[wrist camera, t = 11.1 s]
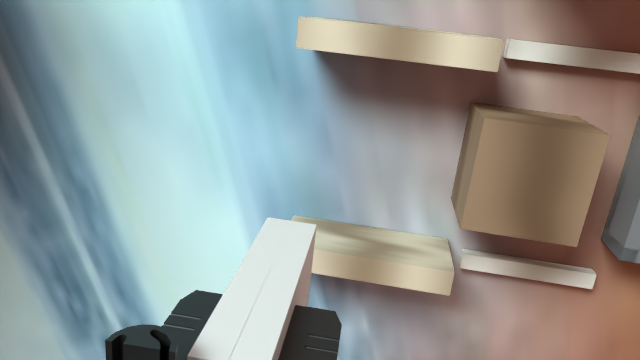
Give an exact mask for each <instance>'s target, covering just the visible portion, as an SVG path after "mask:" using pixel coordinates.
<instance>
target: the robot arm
mask: <svg viewBox="0 0 640 360" xmlns="http://www.w3.org/2000/svg"><path fill="white" fill-rule="evenodd" d="M316 227H317V225H316V224H309V223H302V222H295V221H289V220H282V219H275V218H269V217H268V218H267V220H266V221H265V223H264V225H263V226H262V228H261V230H260V232H259V233H258V235H257V237H256V238H255V240H254V242H253V244H252V245H251V247H250V249H249V251H248V252H247V254H246V256H245V257H244V259H243V261H242V263H241V264H240V266H239V268H238V269H237V271H236V273H235V275H234V276H233V278H232V280H231V282H230V283H229V285H228V287H227V288H226V290H225V292H224V294H217V293H211V292H205V291H198V290H196V291H194V292H192V293H191V294H189V295H188V296H186V297H184V298H183V299H181V300H180V301H179V303H178V304H177V305H176V307H175V308H174V310H173V311H172V312H171V315H169V317H168V318H167V319H166V321H165V322H164V325H163V326H161V327H160V326H157V325H137V326H131V327H127V328H124V329H122V330H120V331H117V332H115V333H114V334H113V335H111V336H110V337H109V338H108V339H106V340H105V344H106V360H337V354H338V347H339V340H340V333H341V326H342V325H341V323H340V321H339V318H338V316H337V314H336V312H335V311H330V310H324V309H318V308H312V307H307V305H308V298H309V289H310V280H311V272H312V263H313V254H314V245H315V236H316Z"/></svg>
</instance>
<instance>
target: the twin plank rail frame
mask: <svg viewBox="0 0 640 360" xmlns="http://www.w3.org/2000/svg"><path fill="white" fill-rule="evenodd" d="M503 44H504V40H501V39H497V38H493V37H488V36H480V35H471V34H462V33H453V32H444V31H436V30H427V29H418V28H409V27H400V26H392V25H383V24H374V23H365V22H357V21H348V20H339V19H330V18H321V17H299V20H298V31H297V43H296V48H302V49H310V50H318V51H326V52H335V53H343V54H351V55H360V56H368V57H376V58H384V59H393V60H401V61H409V62H418V63H426V64H434V65H442V66H451V67H459V68H467V69H476V70H484V71H492V72H498V68H499V63H500V58H501V54H502V49H503ZM503 57H504V58H510V59H518V60H527V61H535V62H544V63H552V64H561V65H569V66H578V67H586V68H595V69H603V70H612V71H620V72H629V73H637V74H640V54H638V53H629V52H620V51H611V50H602V49H594V48H585V47H576V46H567V45H559V44H550V43H541V42H532V41H523V40H515V39H507V41H506V45H505V50H504V55H503ZM291 221H295V222H302V223H309V224H316V225H317V227H316V236H315V245H314V254H313V263H312V272H311V273H315V274H321V275H327V276H333V277H339V278H345V279H351V280H357V281H363V282H369V283H375V284H381V285H388V286H394V287H400V288H406V289H412V290H418V291H424V292H430V293H436V294H442V295H448V296H450V293H451V288H452V283H453V279H454V274H455V271H454V266H453V262H452V257H451V253H450V248H449V244H448V239H445V238H438V237H432V236H426V235H419V234H413V233H406V232H400V231H393V230H387V229H380V228H374V227H367V226H361V225H355V224H348V223H342V222H335V221H329V220H322V219H316V218H309V217H303V216H296V215H294V216H293V217H292V219H291ZM459 265H460V268H462V269H469V270H475V271H481V272H487V273H494V274H500V275H506V276H512V277H519V278H525V279H531V280H537V281H543V282H550V283H556V284H562V285H568V286H575V287H581V288H587V289H592V288H593V285H594V282H595V279H596V276H597V275H596V273H595V272H594V271H593V269H590V268H584V267H577V266H571V265H565V264H558V263H552V262H545V261H539V260H533V259H526V258H520V257H513V256H507V255H501V254H494V253H488V252H481V251H475V250H469V249H462V250H461V255H460V259H459Z"/></svg>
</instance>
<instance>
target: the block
mask: <svg viewBox="0 0 640 360" xmlns="http://www.w3.org/2000/svg"><path fill="white" fill-rule="evenodd" d="M610 136H611V135H609V134H607V133H605V132H604V131H602V130H600V129H598V128H596V127H595V126H593V125H591V124H589V123H588V122H586V121H584V120H582V119H581V118H579V117H577V116H569V115H562V114H554V113H547V112H539V111H532V110H524V109H517V108H509V107H502V106H494V105H487V104H479V103H472V102H471V104H470V109H469V114H468V119H467V124H466V128H465V133H464V138H463V143H462V148H461V153H460V157H459V162H458V167H457V172H456V177H455V181H454V186H453V191H452V196H451V199H452V203H453V206H454V209H455V213H456V216H457V219H458V223H459V226H460V229H465V230H471V231H477V232H484V233H490V234H496V235H503V236H509V237H515V238H522V239H528V240H534V241H541V242H547V243H553V244H560V245H566V246H572V247H577V245H578V242H579V238H580V235H581V232H582V229H583V225H584V222H585V219H586V215H587V212H588V209H589V205H590V202H591V199H592V195H593V192H594V189H595V185H596V182H597V179H598V175H599V172H600V169H601V165H602V162H603V159H604V156H605V152H606V149H607V146H608V142H609V139H610Z"/></svg>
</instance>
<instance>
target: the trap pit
mask: <svg viewBox="0 0 640 360" xmlns="http://www.w3.org/2000/svg"><path fill="white" fill-rule="evenodd" d="M601 240H602V241H603V242H604V244H605V245H606V246H607V247H608V248H609V249H610V250H611V251H612V252H613V254H614V255H615V256H616V257H617V258H618V259H619V260H620V261H627V262H633V263H640V115H639V119H638V122H637V125H636V128H635V132H634V135H633V138H632V141H631V144H630V148H629V151H628V154H627V157H626V161H625V164H624V167H623V170H622V174H621V177H620V180H619V183H618V186H617V190H616V193H615V196H614V199H613V203H612V206H611V209H610V212H609V216H608V219H607V222H606V225H605V229H604V232H603V235H602V238H601Z"/></svg>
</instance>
